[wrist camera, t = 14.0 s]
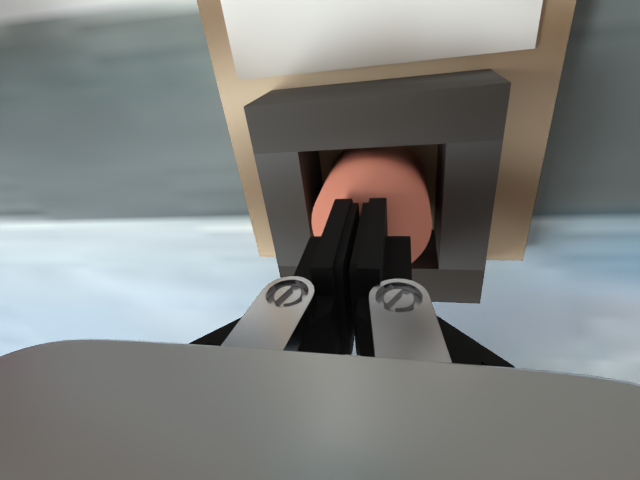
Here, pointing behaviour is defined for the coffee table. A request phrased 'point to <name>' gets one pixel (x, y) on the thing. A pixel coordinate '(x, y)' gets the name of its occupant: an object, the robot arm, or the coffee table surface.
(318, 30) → the drawing board
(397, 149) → the button
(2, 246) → the coffee table surface
